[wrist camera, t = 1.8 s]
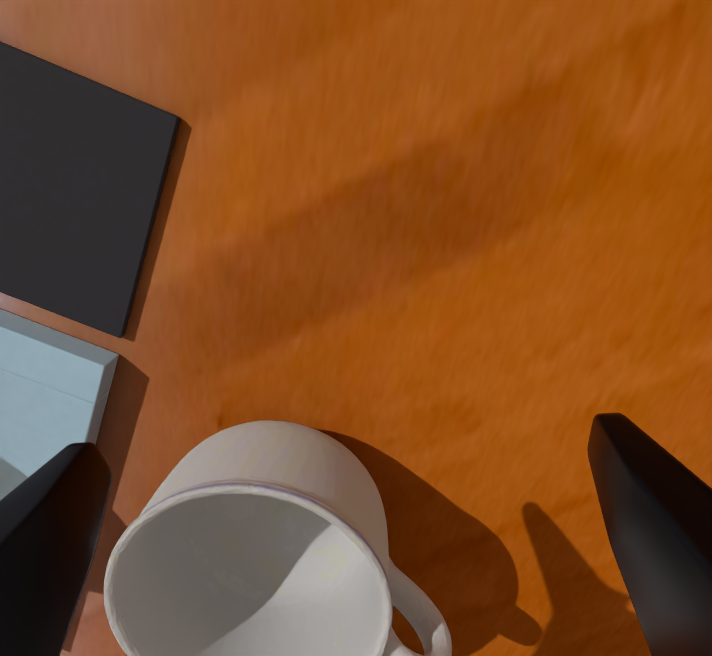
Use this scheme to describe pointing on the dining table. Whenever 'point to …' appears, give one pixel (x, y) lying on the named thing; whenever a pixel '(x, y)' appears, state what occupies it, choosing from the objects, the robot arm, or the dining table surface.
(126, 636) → the teacup
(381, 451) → the dining table surface
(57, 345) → the light blue flat square
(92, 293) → the mat
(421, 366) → the dining table surface
